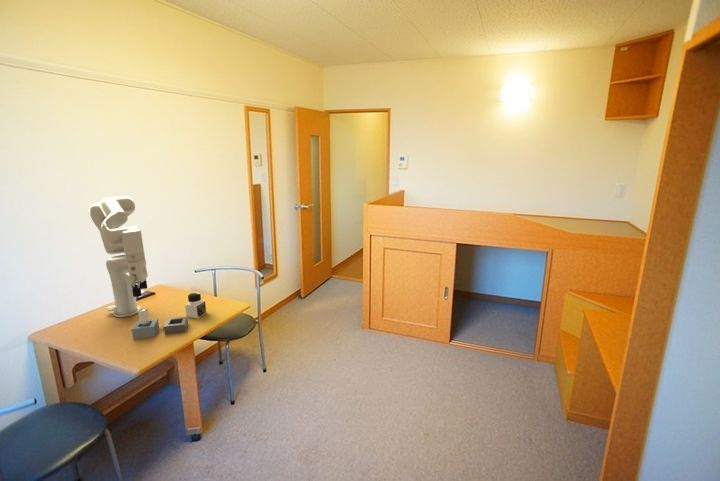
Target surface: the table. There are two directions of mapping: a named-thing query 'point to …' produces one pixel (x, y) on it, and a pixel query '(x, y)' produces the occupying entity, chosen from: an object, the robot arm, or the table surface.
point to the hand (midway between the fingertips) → (140, 292)
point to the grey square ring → (176, 325)
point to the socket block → (145, 329)
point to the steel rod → (144, 317)
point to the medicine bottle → (195, 306)
